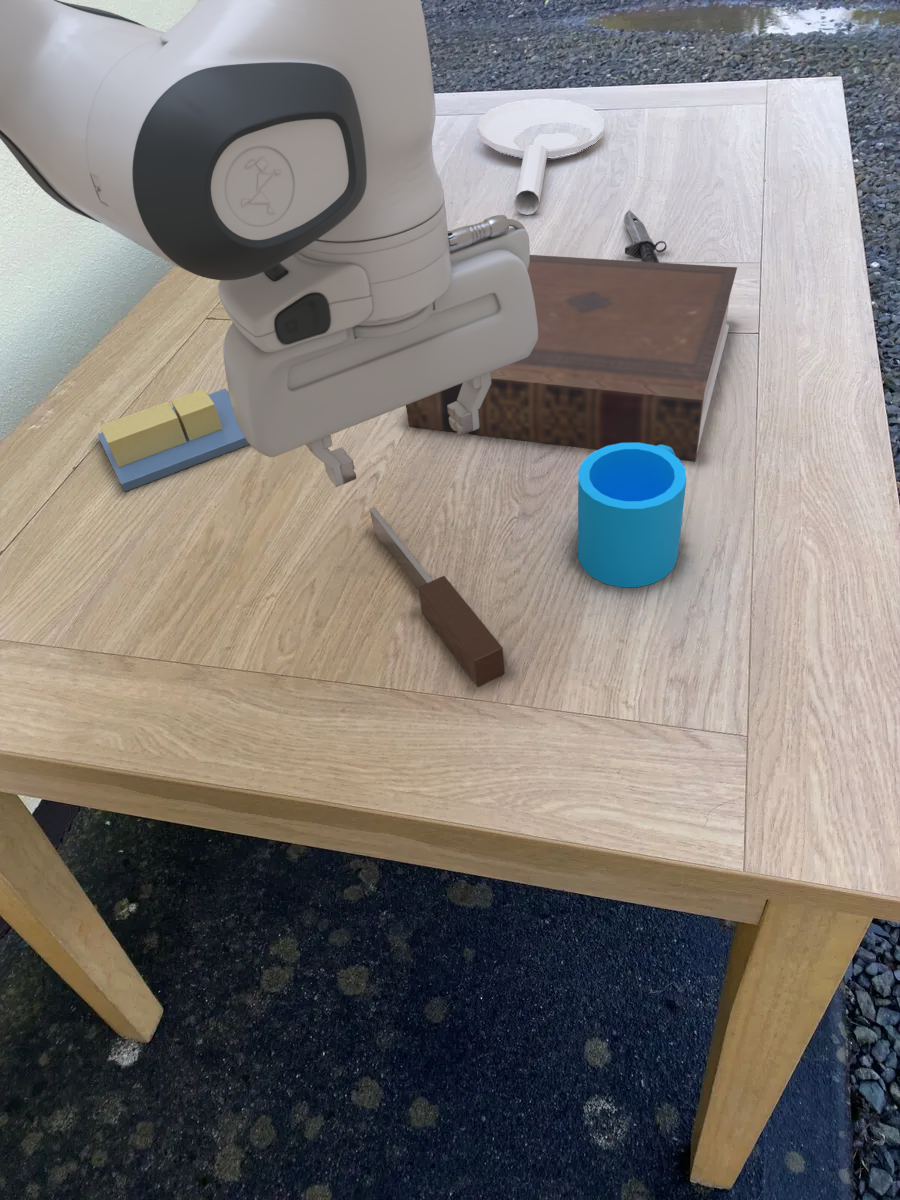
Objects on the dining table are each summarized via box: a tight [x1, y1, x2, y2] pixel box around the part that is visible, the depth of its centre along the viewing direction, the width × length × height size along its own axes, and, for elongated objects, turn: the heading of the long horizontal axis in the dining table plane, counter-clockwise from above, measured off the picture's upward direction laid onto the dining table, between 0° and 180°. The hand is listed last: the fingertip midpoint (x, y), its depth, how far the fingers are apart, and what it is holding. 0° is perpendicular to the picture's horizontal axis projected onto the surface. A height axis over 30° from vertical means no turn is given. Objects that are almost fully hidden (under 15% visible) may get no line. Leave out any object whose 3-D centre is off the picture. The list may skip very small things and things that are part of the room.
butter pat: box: [170, 388, 222, 441], centre depth 92 cm, size 4×4×3 cm
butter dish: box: [97, 388, 250, 492], centre depth 92 cm, size 14×10×4 cm
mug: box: [577, 443, 687, 588], centre depth 73 cm, size 12×8×8 cm
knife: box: [623, 209, 668, 263], centre depth 111 cm, size 19×2×5 cm
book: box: [405, 254, 738, 462], centre depth 92 cm, size 24×28×6 cm
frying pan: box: [476, 98, 605, 216], centre depth 133 cm, size 35×19×5 cm, turn 172°
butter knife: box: [369, 507, 506, 688], centre depth 73 cm, size 2×20×3 cm, turn 29°
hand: (404, 453), depth 62 cm, fingers open, 8 cm apart
